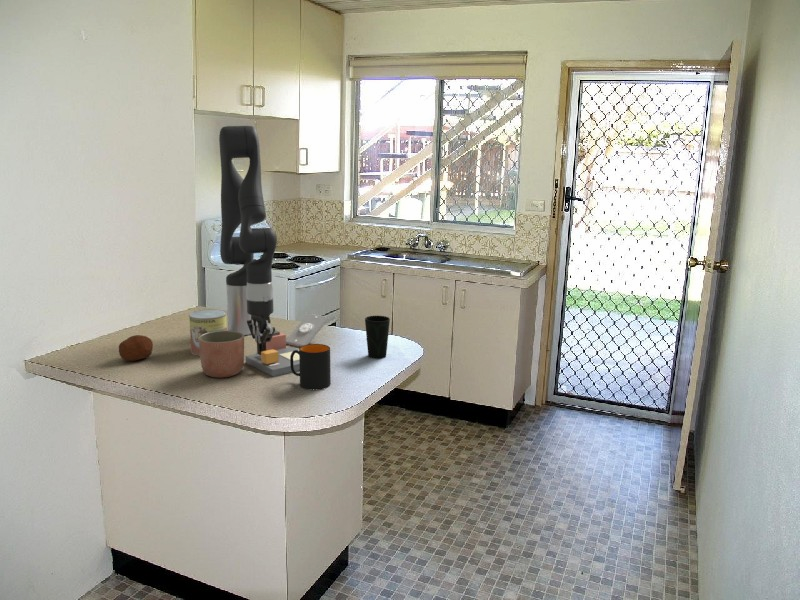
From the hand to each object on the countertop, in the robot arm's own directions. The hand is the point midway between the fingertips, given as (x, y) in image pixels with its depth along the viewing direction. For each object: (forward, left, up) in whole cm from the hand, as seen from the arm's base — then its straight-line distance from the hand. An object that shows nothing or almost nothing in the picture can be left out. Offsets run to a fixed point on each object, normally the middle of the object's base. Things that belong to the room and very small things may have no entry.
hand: (261, 354), depth 198 cm
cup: (+14, +32, -4) cm, 35 cm away
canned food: (-23, -6, -4) cm, 24 cm away
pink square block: (-8, +9, -3) cm, 13 cm away
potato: (-28, -27, -4) cm, 39 cm away
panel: (+3, +5, -3) cm, 7 cm away
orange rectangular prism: (+5, 0, -1) cm, 5 cm away
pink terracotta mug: (0, -12, -4) cm, 13 cm away
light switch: (-13, +24, -4) cm, 27 cm away
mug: (+22, +2, -4) cm, 22 cm away
